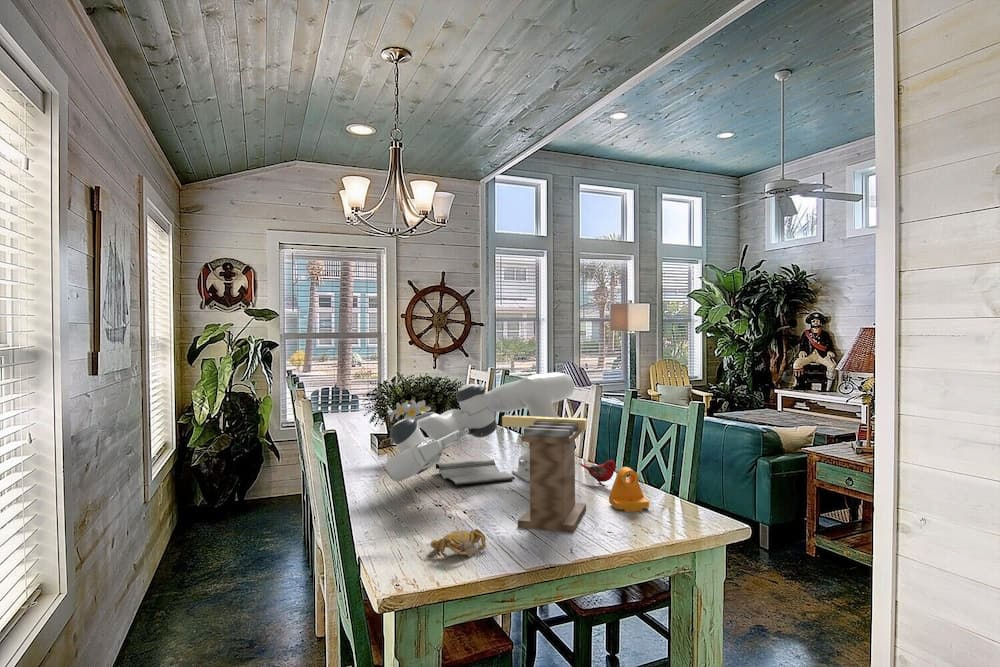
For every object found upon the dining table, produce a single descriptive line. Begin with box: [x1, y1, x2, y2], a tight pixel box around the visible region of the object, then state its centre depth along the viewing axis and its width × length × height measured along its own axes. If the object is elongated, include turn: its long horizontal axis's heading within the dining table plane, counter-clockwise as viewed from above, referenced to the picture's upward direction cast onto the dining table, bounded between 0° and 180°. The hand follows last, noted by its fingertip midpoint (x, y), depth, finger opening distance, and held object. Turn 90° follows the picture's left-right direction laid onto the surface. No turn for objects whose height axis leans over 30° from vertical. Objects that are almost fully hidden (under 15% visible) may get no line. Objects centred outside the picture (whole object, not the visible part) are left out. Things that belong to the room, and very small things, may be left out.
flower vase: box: [386, 399, 432, 423], centre depth 260 cm, size 13×18×25 cm
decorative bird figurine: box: [579, 459, 618, 487], centre depth 218 cm, size 3×18×10 cm, turn 39°
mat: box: [435, 458, 516, 488], centre depth 230 cm, size 23×24×5 cm
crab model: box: [429, 528, 487, 559], centre depth 157 cm, size 15×13×6 cm
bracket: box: [608, 466, 650, 512], centre depth 192 cm, size 11×7×12 cm, turn 98°
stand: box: [517, 422, 587, 534], centre depth 182 cm, size 16×21×28 cm
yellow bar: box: [501, 414, 588, 431], centre depth 188 cm, size 26×3×3 cm, turn 72°
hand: (462, 433), depth 196 cm, fingers open, 8 cm apart
